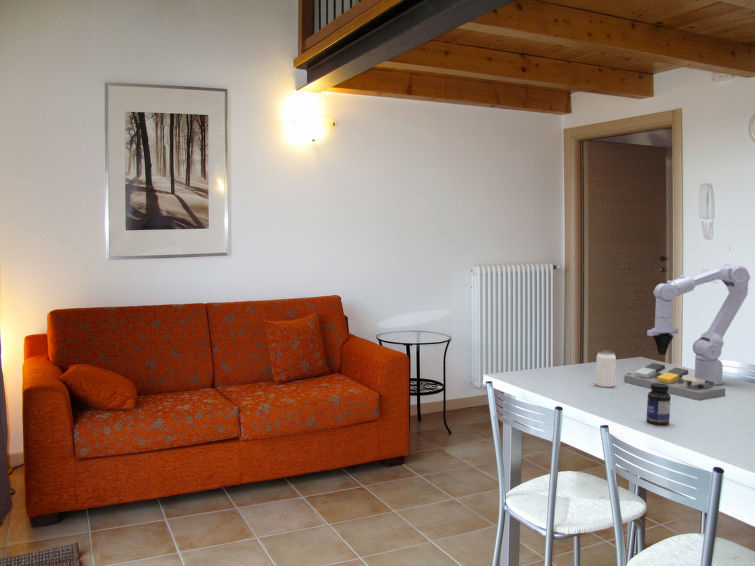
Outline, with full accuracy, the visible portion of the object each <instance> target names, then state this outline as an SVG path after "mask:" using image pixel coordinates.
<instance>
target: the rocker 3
mask: <svg viewBox="0 0 755 566" xmlns="http://www.w3.org/2000/svg"><path fill="white" fill-rule="evenodd" d="M682 379H684V380H688V381H692V382H697V383H701V384H706V383H709V385H710V386H715V385H714V382H711V381H707V380H703V379H699V378H694V377H693V376H689V375H683V377H682Z"/></svg>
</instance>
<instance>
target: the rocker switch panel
mask: <svg viewBox="0 0 755 566" xmlns="http://www.w3.org/2000/svg"><path fill="white" fill-rule="evenodd" d="M662 374H663V373H661V372H658V373H655V374H654V375H652V376H650V377H648V378H644V377H640V376H636V375H635V373H631V372H627V373H626V374H625V375H624V379H623V381H624V383H627V384H630V385H631V384H632V385H635V386H639V387H644V388H648V389H651V384H652V383H662V384H666V385H668V391H667V393H668V394H670V395H676V396H680V397H684V398H688V399H692V400H695V401H702V400H709V399H713V398H719V397H725V396H726V388H725V387H722V386H717V385H713V386H710V385H709V383H706V384H701V383H697V382H692V381H688V380H684V379H682V378H679V379H678V380H676V381H674V382H672V383H665V382H661V381H658V380H657V377H658V376H660V375H662Z"/></svg>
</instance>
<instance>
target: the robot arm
mask: <svg viewBox="0 0 755 566" xmlns="http://www.w3.org/2000/svg"><path fill="white" fill-rule="evenodd" d="M750 279H751V275H750V273H749V271H748V269H747V268H746V266H742V265H733V264H725V265H721V266H716V267H715V268H712V269H708V270H707V271H705V272H701V273H700V274H697V275H693V276H689V275H684V274H683V275H680V276H679V277H678V278H677V279H676V278H675V279H673V280H671V279H670V280H667V282H666V283H659V284H657V285H656V286H655V288H654V290H653V291H652V293H653V295H654V297H655V311H654V313H655V315H654V316H655V318H654V327H652V329H648V330H647V331H646V332H647V333H646V336H650V337H652V338H653V340H654V342H655V345H656V348H657V349H656V350H657V354H658V355H661V356H665V355H666V354H667V352H668V348H669V346H670V344H671V341H672V340H673V339H674V334H675V335H676V334H677V335H678V334H679V328H678V327H673V313H674V312H673V309H674V307H673V306H674V299H676V298H677V297H678V296H682V295H684V294H687V293H690V292H692V291H694V290H695V288H696V286H700V285H702V284H707V283H709V282H714V281H715V280H719V281H721V282H723V284H724V285H725V287H726V288H727V291H728V295H727V296H726V298H725V300H724V302H723V303H722V305H721V307H720V309H719V310H718V312H717V314H716V315H715V317H714V319H713V321H712V323H711V324H710V326H709V328H708V329H707V330H706V331H705V332H703V333H702V334H701V335H700V337H699V338H698V339H696V340H695V341H694V342H693V344H692V352H693V353H694V354H695V359H694V361H695V362H694V378H699V379H703V380H707V381H711V382H714V385H713V386H717V385H718V386H719V385H722V384H725V382H724V381H723V371H724V370H723V369H724V367H723V363H722V361H721V360H720V359H719V358H720V357H721V355H722V349H723V347H724V344H725V343H724V339H723V338H724V336H725V334H726V332H727V331H728V329H729V328H730V326H731V324H732V323H733V320H734V319H735V317H736V315H737V313H738V311H739V310H740V308H741V307H742V305H743V303H744V301H745V299H746V298H747V296H748V293H749V292H748V291H749V281H750ZM672 334H673V335H672Z"/></svg>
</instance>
